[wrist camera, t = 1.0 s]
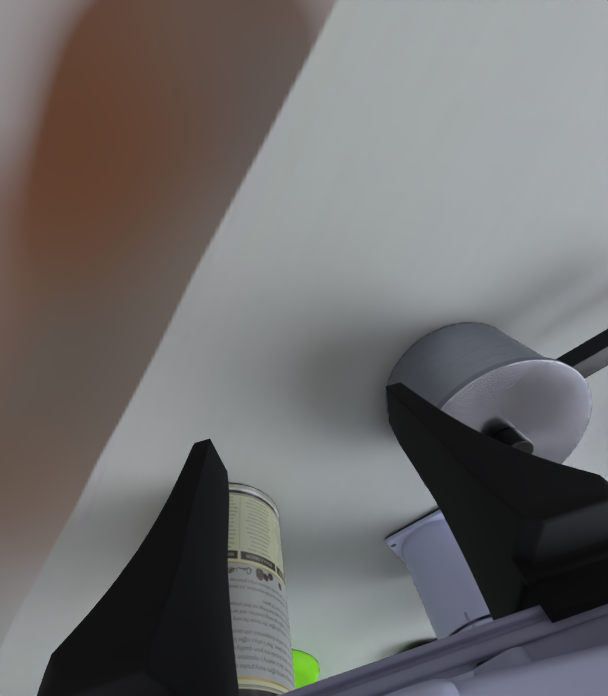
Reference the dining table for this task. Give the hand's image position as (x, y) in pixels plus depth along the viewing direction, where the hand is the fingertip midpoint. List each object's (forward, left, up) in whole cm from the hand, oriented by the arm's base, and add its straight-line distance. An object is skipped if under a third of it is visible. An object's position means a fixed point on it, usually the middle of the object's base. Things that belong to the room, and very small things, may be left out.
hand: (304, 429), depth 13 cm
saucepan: (-12, -13, -10) cm, 21 cm away
